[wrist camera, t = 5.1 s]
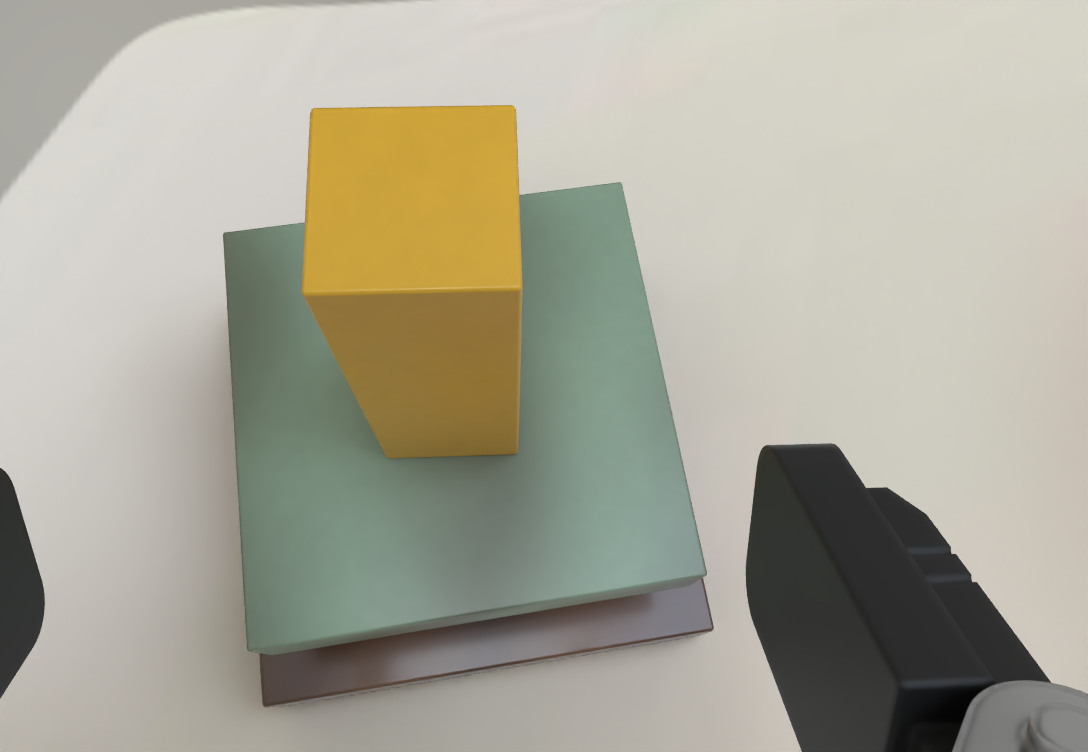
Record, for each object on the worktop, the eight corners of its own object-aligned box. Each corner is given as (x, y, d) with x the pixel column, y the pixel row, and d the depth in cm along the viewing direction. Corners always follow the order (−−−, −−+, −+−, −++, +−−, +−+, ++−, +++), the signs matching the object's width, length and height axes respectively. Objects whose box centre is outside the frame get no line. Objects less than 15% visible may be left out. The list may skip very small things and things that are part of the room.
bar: (385, 459, 21) (299, 295, 12) (387, 335, 22) (309, 106, 13) (518, 455, 21) (522, 290, 13) (514, 332, 22) (515, 102, 14)
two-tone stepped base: (280, 707, 26) (199, 709, 19) (253, 312, 30) (178, 201, 23) (700, 635, 27) (762, 614, 20) (621, 263, 31) (652, 142, 24)
